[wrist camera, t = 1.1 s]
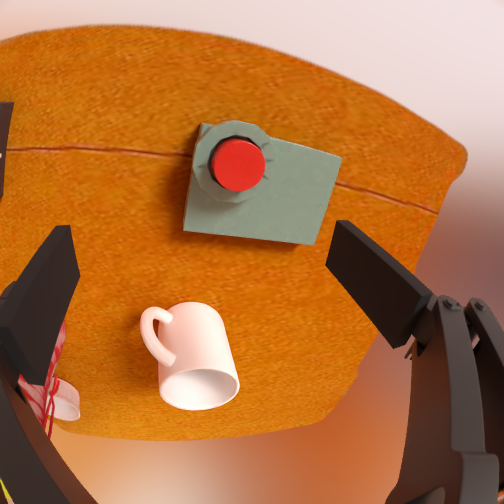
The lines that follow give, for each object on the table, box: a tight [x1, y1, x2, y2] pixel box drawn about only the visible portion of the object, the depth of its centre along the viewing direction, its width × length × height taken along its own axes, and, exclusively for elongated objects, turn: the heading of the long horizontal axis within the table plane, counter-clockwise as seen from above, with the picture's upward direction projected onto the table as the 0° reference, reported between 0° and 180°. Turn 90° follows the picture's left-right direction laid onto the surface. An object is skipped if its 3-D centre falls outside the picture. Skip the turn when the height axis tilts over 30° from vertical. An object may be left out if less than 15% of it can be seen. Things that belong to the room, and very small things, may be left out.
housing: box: [182, 120, 342, 245], centre depth 26 cm, size 14×11×4 cm
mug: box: [140, 302, 240, 410], centre depth 29 cm, size 12×8×10 cm
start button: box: [211, 139, 265, 192], centre depth 21 cm, size 4×4×2 cm
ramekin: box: [46, 377, 80, 421], centre depth 33 cm, size 9×9×4 cm
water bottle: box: [0, 320, 66, 501], centre depth 17 cm, size 12×8×25 cm, turn 65°
